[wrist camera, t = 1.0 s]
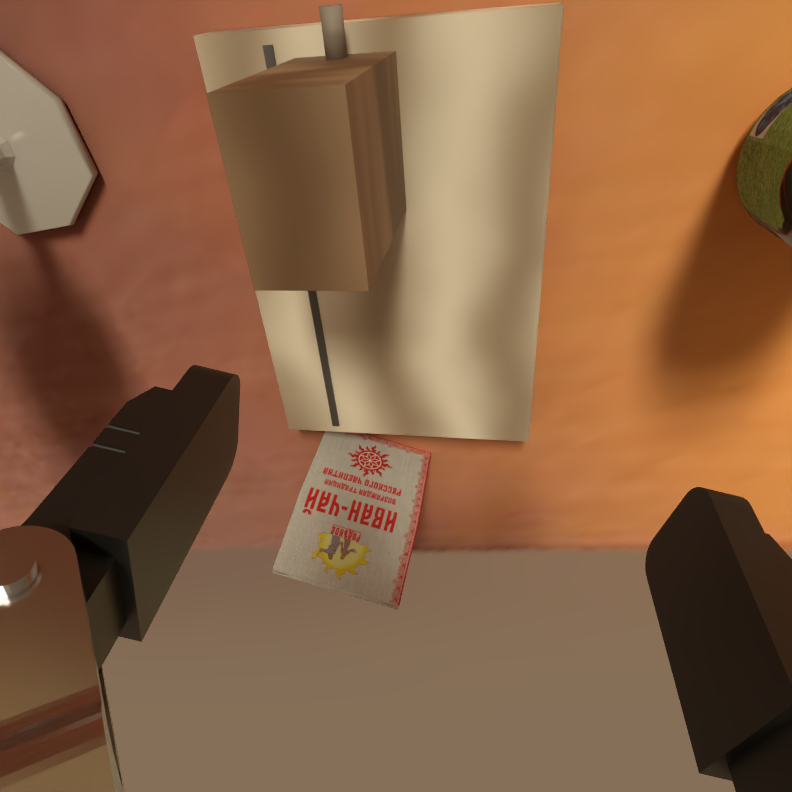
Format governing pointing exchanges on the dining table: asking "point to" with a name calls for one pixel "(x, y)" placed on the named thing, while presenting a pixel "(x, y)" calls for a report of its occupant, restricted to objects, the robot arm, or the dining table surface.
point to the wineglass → (38, 155)
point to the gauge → (315, 165)
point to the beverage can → (769, 169)
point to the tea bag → (356, 517)
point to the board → (429, 230)
